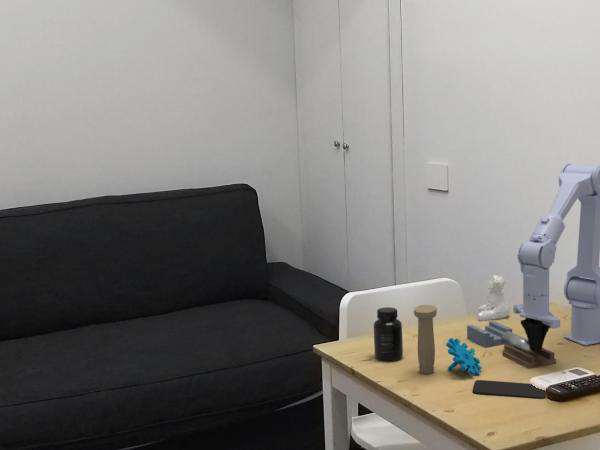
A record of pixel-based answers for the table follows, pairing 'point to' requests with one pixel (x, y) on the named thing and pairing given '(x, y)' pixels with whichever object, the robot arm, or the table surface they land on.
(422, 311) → the handle
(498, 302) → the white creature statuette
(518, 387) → the phone
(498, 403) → the table surface
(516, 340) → the axle
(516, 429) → the table surface
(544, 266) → the robot arm
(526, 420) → the table surface
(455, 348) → the gear
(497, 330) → the v block
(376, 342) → the supplement bottle
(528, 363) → the brown channel tray
